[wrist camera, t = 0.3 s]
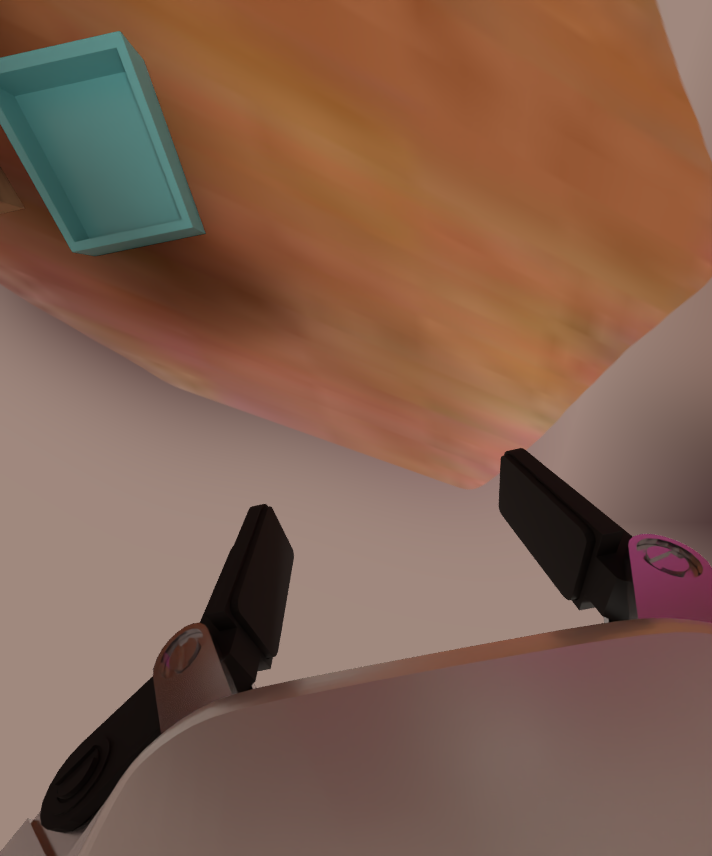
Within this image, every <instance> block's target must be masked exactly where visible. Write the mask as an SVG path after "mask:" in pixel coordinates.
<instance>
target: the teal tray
mask: <svg viewBox="0 0 712 856" xmlns="http://www.w3.org/2000/svg"><path fill="white" fill-rule="evenodd" d="M0 124H1V126H2V128H3V130H4V131H5V133H6V135H7V137H8V138H9V140H10V142H11V144H12V146H13V147H14V149H15V151H16V153H17V155H18V156H19V158H20V160H21V162H22V163H23V165H24V167H25V169H26V171H27V172H28V174H29V176H30V178H31V179H32V181H33V183H34V185H35V187H36V188H37V190H38V192H39V194H40V196H41V197H42V199H43V201H44V203H45V204H46V206H47V208H48V210H49V212H50V213H51V215H52V217H53V219H54V220H55V222H56V224H57V226H58V228H59V229H60V231H61V233H62V235H63V236H64V238H65V240H66V242H67V244H68V245H69V247H70V249H71V251H72V252H74V253H79V254H85V255H91V256H99V255H104V254H109V253H114V252H118V251H123V250H128V249H133V248H138V247H143V246H148V245H152V244H157V243H162V242H167V241H172V240H177V239H182V238H187V237H191V236H196V235H201V234H206V233H205V231H204V228H203V225H202V222H201V219H200V217H199V214H198V211H197V208H196V205H195V203H194V200H193V197H192V194H191V191H190V189H189V186H188V183H187V180H186V177H185V175H184V172H183V169H182V166H181V163H180V161H179V158H178V155H177V152H176V149H175V147H174V144H173V141H172V138H171V135H170V133H169V130H168V127H167V124H166V121H165V119H164V116H163V113H162V110H161V107H160V105H159V102H158V99H157V96H156V93H155V91H154V88H153V85H152V82H151V79H150V76H149V74H148V71H147V68H146V65H145V62H144V60H143V59H142V57H141V56H140V55H139V54H138V52H137V51H136V50H135V49H134V48H133V46H132V45H131V44H130V43H129V41H128V40H127V39H126V38H125V37H124V35H123V34H122V33H121V32H120V31H117V32H113V33H108V34H104V35H100V36H95V37H91V38H86V39H82V40H77V41H73V42H69V43H64V44H60V45H55V46H51V47H46V48H42V49H37V50H33V51H29V52H24V53H20V54H15V55H11V56H6V57H2V58H0Z"/></svg>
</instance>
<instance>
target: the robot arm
mask: <svg viewBox="0 0 712 856" xmlns="http://www.w3.org/2000/svg"><path fill="white" fill-rule="evenodd" d="M499 510H500V512H501V514H502V516H503V517H504V518H505V520H506V521H507V522H508V524H509V525H510V526H511V528H512V529H513V530H514V532H515V533H516V534H517V536H518V537H519V538H520V540H521V541H522V542H523V544H524V545H525V546H526V547H527V549H528V550H529V552H530V553H531V554H532V555H533V557H534V558H535V560H536V561H537V562H538V563H539V565H540V566H541V567H542V569H543V570H544V571H545V573H546V574H547V575H548V577H549V578H550V579H551V581H552V582H553V583H554V585H555V586H556V587H557V588H558V590H559V591H560V593H561V594H562V595H563V596H564V597H565V598H566V599H567V600H572V601H573V603H574V604H575V605H576V606H577V608H578V609H579V610H583V609H589V608H594V607H595V608H596V609H597V610H598V611H599V612H600V614H601V615H602V616H603V617H604V623H602V624H596V625H590V626H584V627H577V628H571V629H565V630H559V631H553V632H548V633H542V634H537V635H531V636H526V637H520V638H515V639H509V640H503V641H498V642H493V643H487V644H482V645H476V646H471V647H466V648H460V649H455V650H449V651H444V652H438V653H433V654H428V655H422V656H417V657H412V658H406V659H401V660H396V661H390V662H385V663H380V664H375V665H370V666H364V667H359V668H354V669H349V670H343V671H338V672H333V673H328V674H323V675H317V676H312V677H307V678H302V679H298V680H293V681H288V682H284V683H279V684H274V685H270V686H265V687H261V688H256V687H255V684H254V682H255V680H256V675H257V671H262V670H266V669H270V668H271V664H272V659H273V657H275V656H276V655H277V652H278V648H279V642H280V636H281V630H282V623H283V618H284V612H285V607H286V601H287V595H288V588H289V583H290V576H291V571H292V565H293V559H294V553H293V549H292V547H291V545H290V543H289V541H288V539H287V537H286V535H285V533H284V531H283V529H282V527H281V525H280V523H279V521H278V519H277V517H276V515H275V513H274V511H273V509H272V507H268V506H267V505H266V504H262V505H257V506H252V507H250V509H249V511H248V513H247V515H246V518H245V520H244V522H243V525H242V527H241V530H240V532H239V535H238V537H237V539H236V542H235V544H234V546H233V547H232V549H231V551H230V553H229V555H228V557H227V560H226V562H225V565H224V567H223V569H222V572H221V574H220V576H219V579H218V581H217V584H216V586H215V588H214V590H213V593H212V595H211V598H210V600H209V602H208V605H207V607H206V609H205V612H204V614H203V616H202V619H201V621H200V623H193V624H190V625H188V626H186V627H184V628H183V629H181V630H180V631H178V632H177V633H176V634H175V635H174V636H173V637H172V638H171V639H170V640H169V641H168V642H167V643H166V645H165V646H164V647H163V649H162V650H161V652H160V654H159V656H158V657H157V659H156V663H155V665H154V668H153V677H152V678H150V680H148V681H147V682H146V683H145V684H144V685H143V686H142V687H141V688H140V689H139V690H138V691H137V692H136V693H135V694H134V695H132V696H131V697H130V698H129V699H128V700H127V701H126V702H125V703H124V704H123V705H122V706H121V707H120V708H119V709H117V710H116V711H115V712H114V713H113V714H112V715H111V716H110V717H109V718H108V719H107V720H106V721H105V722H104V723H103V724H101V726H99V727H98V728H97V729H96V730H95V731H94V732H93V733H92V734H91V735H90V736H89V737H88V738H87V739H86V740H84V742H82V743H81V744H80V745H79V746H78V748H77V749H76V750H75V751H74V752H73V753H72V754H71V755H70V756H69V757H68V759H67V760H66V761H65V763H64V764H63V765H62V767H61V768H60V769H59V771H58V772H57V774H56V776H55V778H54V779H53V781H52V783H51V784H50V786H49V789H48V791H47V793H46V796H45V798H44V800H43V803H42V808H41V811H40V812H39V814H38V815H37V816H36V817H35V819H34V820H32V819H27V820H26V821H25V822H24V824H23V825H22V826H21V827H20V829H19V830H18V831H17V832H16V833H15V834H14V836H13V837H12V839H10V841H9V842H8V843H7V844H6V845H5V847H4V848H3V849H2V850H1V851H0V856H712V567H711V566H710V564H709V563H708V561H707V560H706V559H705V558H704V557H703V556H701V555H700V554H699V553H698V552H696V551H695V550H693V549H692V548H690V547H688V546H687V545H685V544H683V543H681V542H678V541H676V540H674V539H671V538H668V537H665V536H660V535H655V534H639V535H636V536H633V537H632V536H631V535H630V534H629V533H627V532H626V531H625V530H624V529H622V528H621V527H620V526H619V525H618V524H616V523H615V522H614V521H612V520H611V519H610V518H609V517H608V516H606V515H605V514H604V513H603V512H601V511H600V510H599V509H598V508H597V507H595V506H594V505H593V504H592V503H590V502H589V501H588V500H587V499H585V498H584V497H583V496H582V495H580V494H579V493H578V492H577V491H576V490H574V489H573V488H572V487H570V486H569V485H568V484H567V483H566V482H564V481H563V480H562V479H560V478H559V477H558V476H557V475H555V474H554V473H553V472H552V471H550V470H549V469H548V468H547V467H545V466H544V465H543V464H542V463H541V462H539V461H538V460H537V459H536V458H535V457H533V456H532V455H531V454H530V453H528V452H527V451H526V450H525V449H523V448H519V449H515V450H510V451H506V452H505V454H504V456H502V457H501V465H500V489H499Z"/></svg>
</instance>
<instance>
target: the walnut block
mask: <svg viewBox="0 0 712 856" xmlns="http://www.w3.org/2000/svg"><path fill="white" fill-rule="evenodd" d="M21 209H25V207H24V206H23V204H22V202H21V201H20V199H19V197H18V196H17V194H16V192H15V191H14V189H13V187H12V186H11V184H10V182H9V180H8V179H7V177H6V175H5V174H4V172H3V170H2V169H1V167H0V214H2V213H7V212H12V211H17V210H21Z"/></svg>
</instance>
